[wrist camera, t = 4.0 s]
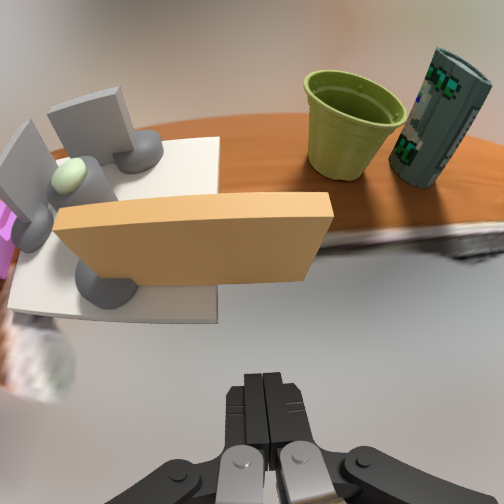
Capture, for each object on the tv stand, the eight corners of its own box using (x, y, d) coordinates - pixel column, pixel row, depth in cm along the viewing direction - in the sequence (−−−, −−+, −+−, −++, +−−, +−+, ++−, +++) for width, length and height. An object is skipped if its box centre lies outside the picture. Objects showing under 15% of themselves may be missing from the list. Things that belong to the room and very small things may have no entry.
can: (395, 143, 29) (437, 44, 16) (435, 168, 28) (487, 76, 15) (383, 167, 27) (434, 52, 14) (428, 196, 26) (495, 92, 12)
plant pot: (322, 123, 30) (336, 63, 22) (389, 166, 27) (418, 106, 20) (273, 158, 27) (281, 84, 19) (351, 212, 24) (386, 141, 16)
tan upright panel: (80, 308, 18) (13, 262, 11) (90, 249, 20) (40, 188, 13) (305, 306, 18) (342, 252, 11) (297, 241, 21) (320, 165, 14)
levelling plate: (10, 311, 18) (-57, 270, 10) (57, 166, 27) (24, 110, 18) (218, 323, 19) (195, 268, 11) (220, 144, 28) (215, 64, 19)
